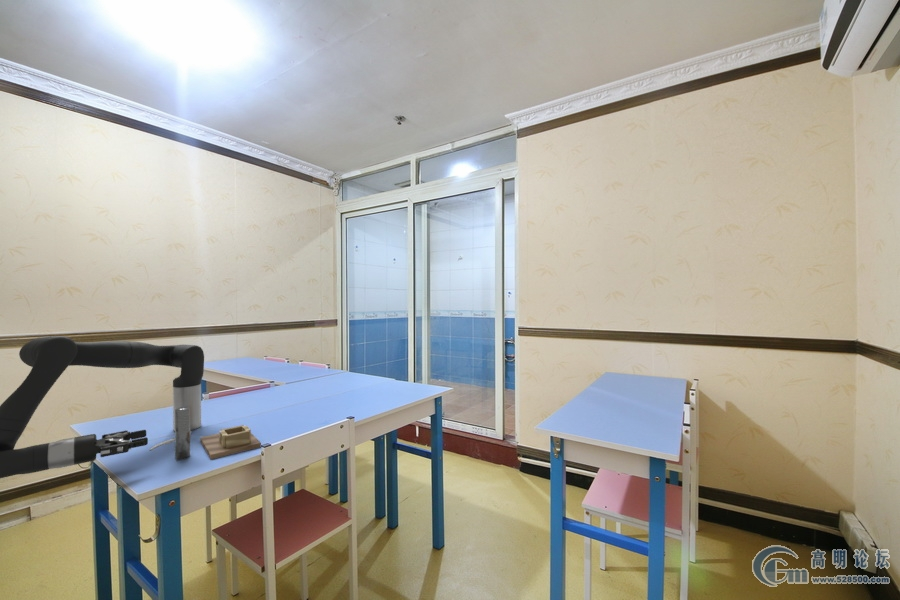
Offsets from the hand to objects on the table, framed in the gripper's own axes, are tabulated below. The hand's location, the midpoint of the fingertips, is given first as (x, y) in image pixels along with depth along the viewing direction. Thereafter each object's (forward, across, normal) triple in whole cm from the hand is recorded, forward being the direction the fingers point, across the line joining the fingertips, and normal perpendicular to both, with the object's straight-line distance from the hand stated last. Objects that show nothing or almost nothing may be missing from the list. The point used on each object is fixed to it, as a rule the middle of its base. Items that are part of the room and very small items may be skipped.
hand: (146, 436), depth 116 cm
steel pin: (+9, 0, +9) cm, 13 cm away
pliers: (+9, +18, +10) cm, 22 cm away
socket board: (+23, +2, +9) cm, 25 cm away
